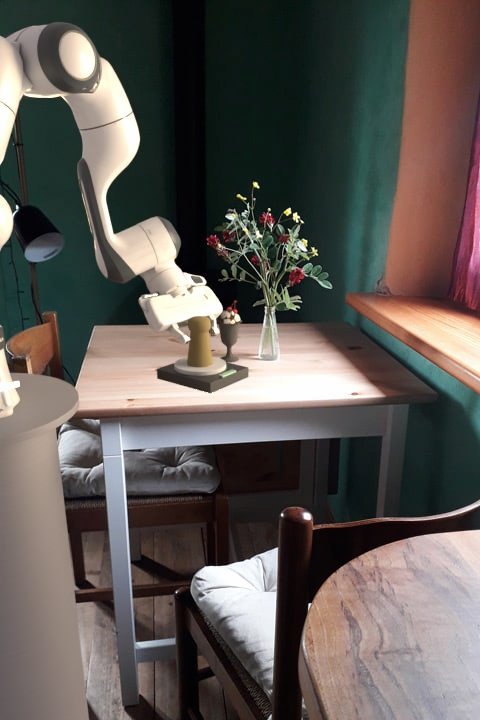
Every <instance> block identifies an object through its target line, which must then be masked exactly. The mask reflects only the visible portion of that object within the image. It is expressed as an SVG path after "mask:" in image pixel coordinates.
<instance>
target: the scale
mask: <svg viewBox="0 0 480 720" xmlns="http://www.w3.org/2000/svg"><path fill="white" fill-rule="evenodd" d="M220 358H221V357H217V356H212V360H213V364H212V365H211V366H207V367H192V366H189V365H187V359H188V356H186V357H182V358H179V359H177V360H176V361H175V362H172V363H170V364H167V365H163V366H161V367H158V368H156V378H157V380H161V381H164V382H168V383H172V384H175V385H179V386H181V387H182V386H183V387H185V388H190V389H193V390H196V389H197V391H200V392H203V391H204V393H207V392H208V393H207V394H213V393H215V392H218V391H219V389H220V390H222V389H224V388H227V387H229V386H231V385H234V384H236V383H238V382H240V381H242V380H245V379H247V378H249V373H250V371H249V370H250V369H249V367H248V366H244V365H241V364H236V363H233V362H225V361H224V360H223V359H220ZM212 392H213V393H212Z"/></svg>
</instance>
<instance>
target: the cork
mask: <svg viewBox="0 0 480 720" xmlns="http://www.w3.org/2000/svg"><path fill="white" fill-rule="evenodd" d="M210 327H211V322H210V320H209V318H207V317H205V316H194V317H191V318H190V319H189V320H188V326H187V328H188V330H189V338H190V341H189V342H188V352H187V357H188V359H187V365H189V366H192V367H207V366H211V365H212V364H213V360H212V357H213V354H212V347H211V341H210V333H209V332H208V331H209V330H210Z"/></svg>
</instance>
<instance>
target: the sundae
mask: <svg viewBox="0 0 480 720" xmlns="http://www.w3.org/2000/svg"><path fill="white" fill-rule="evenodd" d="M237 302H238V300H234V301H233V303H232V305H234V306H233V307H234V309H232V306H228V307H227V308H226V309H225V310H222V313H221V314H220V315H219V316H218V317H217V318H216V325H218V330H219V336H220V341H221V343H222V344H223V345H224V346H225V347H226V354H225V355H224V356H221V357H219V358H220V359H223V360H224V361H225V362H228V363H235V362H238V361H239V360H240V358H239V357H238V356H234V355H233V351H232V348H233V346H234V345H236V343H237V342H238V337H239V330H240V325H241V323H243V320H241V317H240V315H239V314H238V310H237V309H236V303H237Z"/></svg>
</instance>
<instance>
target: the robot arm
mask: <svg viewBox="0 0 480 720" xmlns="http://www.w3.org/2000/svg"><path fill="white" fill-rule="evenodd" d="M58 97H61V98H63V100H64V101H65V103H67V104H68V106H69V107H70V109H71V112H72V114H73V117H74V120H75V122H76V125H77V128H78V130H79V133H80V136H81V142H82V156H81V158H80V159H79V161H78V162H77V164H76V165H77V166H76V168H77V169H76V170H77V178H78V185H79V189H80V192H81V197H82V201H83V205H84V209H85V213H86V216H87V221H88V226H89V229H90V232H91V237H92V243H93V248H94V249H93V250H94V253H95V260H96V264H97V267H98V269H99V271H100V272H101V274H102V275H103V277H104V278H105V279H106V280H108V281H111V282H114V283H118V284H126V283H128V282H129V281H131V280H132V279H134V278H137V276H138V275H139V276H140V277H141V278H142V279H143V280H144V282H145V284H146V285H145V286H146V288H147V290H148V291H149V293H148V294H147V293H144V294H142V295H141V296H140V297H139V299H138V304H139V306H140V308H141V309H142V311H143V314H144V317H145V319H146V321H147V323H148V325H149V327H150V329H151V331H153V332H154V333H157V334H160V333H164V332H168V333H169V334H170V335H171V336H172V337H173V338H175V339H177V340H178V341H179V343H180V344H181V345H182V346H183V345H187V344H189V341H190V336H189V335H188V334H187V333H184V332H183V331H181V330H180V329H179V328H184V327H188V320H189V319H190V318H191V317H194V316H205V317H207V318H209V320H210V322H211V327H210V329H209V331H208V332H209V335H210V336H211V337H217V336H218V335H220V329H219V327H218V326H217V324H216V320H217V319H218V316H221V314H222V312H223V305H222V303H221V302H220V300H219V298H218V297H217V296H216V294H215V293H214V291H213V290H212V289H211V288H210V287H209V286H208V285H207V280H206V279H205V277H203V276H201V275H195V274H190V273H187V272H183V271H182V269H181V268H180V267H179V266H178V265H177V264H176V261H175V259H177V257H178V255H179V252H180V248H181V247H182V246H181V245H182V241H181V237H180V235H179V234H178V232H177V231H176V229H175V227H174V226H173V224H172V223H171V222H170V221H169V220H168V219H166V218H164V217H161V216H158V215H156V216H154V217H153V216H152V217H150V218H148V219H145V220H143V221H140V222H139V223H136V224H135V225H132V226H130V227H129V228H125V229H124V230H121V231H120V232H117V233H114V230H113V226H112V222H111V216H110V213H109V212H110V211H109V209H108V208H109V207H108V204H107V193H108V190H109V188H110V186H111V184H112V183H113V182H114V180H116V178H117V177H118V176H119V175H120V174H121V173H122V172H123V171H124V170H125V169H126V168H127V167H128V166H129V165H130V163H131V162H132V161H133V159H134V158H135V156H136V154H137V152H138V150H139V146H140V142H141V136H140V131H139V126H138V122H137V120H136V117H135V114H134V112H133V108H132V106H131V104H130V100H129V97H128V96H127V94H126V92H125V89H124V87H123V84H122V83H121V81H120V79H119V77H118V75H117V73H116V72H115V70H114V67H113V66H112V65H111V64H110V62H109V61H108V60H106V59H105V58H103V57H101V56H100V53H98V50H97V47H96V46H95V44H94V43H93V40H92V39H91V38H90V37H89V36H88V34H87V33H86V32H85V31H84V30H83V29H82V28H81V27H79V26H77V25H76V24H73V23H70V22H63V21H55V22H50V23H48V24H41V25H32V26H31V25H30V26H28V27H25V28H22V29H19V30H18V31H15V32H11V33H8V34H6V35H4V36H1V35H0V165H1V164H2V162H3V161H4V158H5V155H6V152H7V148H8V145H9V141H10V137H11V134H12V132H13V128H14V123H15V120H16V117H17V113H18V109H19V105H20V101H21V100H22V99H29V100H30V99H36V98H58ZM13 230H14V216H13V212H12V209H11V206H10V204H9V203H8V201H7V200H6V198H5V197H3V195H1V194H0V251H1V250H2V248H3V246H4V245H5V244H6V243H7V242H8V240H9V239H10V237H11V235H12V233H13ZM6 348H7V347H6V338H5V333H4V327H3V326H2V325H1V324H0V418H3V417H7V416H10V415H12V414H13V408H14V407H15V406H16V405H17V404H18V403H19V401H20V397H19V395H18V393H17V391H16V389H15V387H19V386H20V385H19V381H16V382H12V379H11V376H10V373H11V372H10V369H9V366H8V361H7V357H6V350H7V349H6Z"/></svg>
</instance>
